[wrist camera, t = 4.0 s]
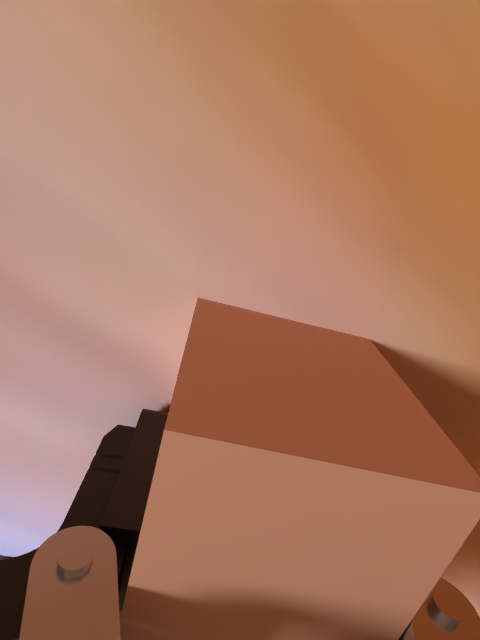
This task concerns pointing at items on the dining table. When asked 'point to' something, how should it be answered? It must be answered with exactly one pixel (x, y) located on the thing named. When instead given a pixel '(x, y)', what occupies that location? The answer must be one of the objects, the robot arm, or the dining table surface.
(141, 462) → the robot arm
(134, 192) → the dining table surface
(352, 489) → the block
